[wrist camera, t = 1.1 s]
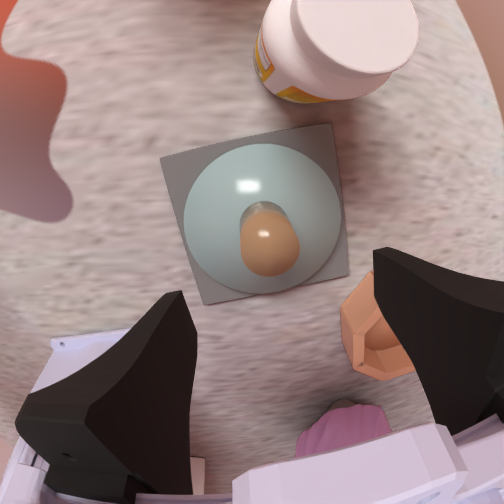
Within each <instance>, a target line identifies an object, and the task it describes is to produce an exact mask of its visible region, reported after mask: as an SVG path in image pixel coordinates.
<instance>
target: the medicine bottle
mask: <svg viewBox="0 0 504 504" xmlns="http://www.w3.org/2000/svg"><path fill="white" fill-rule="evenodd" d="M190 463H191V477H192V487H193V495H204V480H205V459H204V458H198V457H190Z"/></svg>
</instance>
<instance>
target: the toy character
mask: <svg viewBox="0 0 504 504" xmlns="http://www.w3.org/2000/svg"><path fill="white" fill-rule="evenodd" d="M389 433H392V431H391V429H390V428H389V423H388V421H387V419H386V416H385V413H384V411H383V410H382V406H381V405H378V406H375V405H360V404H354V403H353V402H351V401H349V400H347V399H339V400H337V401H336V402H334V403H333V404H332V405H331V407H330V408H329V409H328V411H327V413H325V414H324V415H323V416H322V417H321V418H320V419H319V420H318V421H317V422H316V423H314V425H313V426H312V427H311V428H309V429H307V430H305V431H303V432H302V433H301V434H300V436H299V437H298V439H297V444H296V455H295V457H294V458H297V457H302V456H307V455H312V454H316V453H321V452H325V451H330V450H334V449H338V448H342V447H346V446H349V445H353V444H357V443H360V442H364V441H367V440H370V439H374V438H377V437H380V436H383V435H386V434H389Z"/></svg>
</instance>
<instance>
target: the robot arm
mask: <svg viewBox="0 0 504 504" xmlns="http://www.w3.org/2000/svg"><path fill="white" fill-rule="evenodd" d="M373 272H374V298H375V300H376V302H377V304H378V307H379V309H380V311H381V313H382V315H383V317H384V318H385V320H386V322H387V323H388V325H389V326H390V328H391V329H392V331H393V333H394V334H395V336H396V337H397V339H398V340H399V342H400V343H401V345H402V347H403V348H404V350H405V351H406V353H407V355H408V356H409V358H410V360H411V362H412V363H413V365H414V367H415V370H416V372H417V374H418V376H419V379H420V381H421V383H422V386H423V388H424V391H425V393H426V396H427V398H428V401H429V404H430V407H431V410H432V413H433V416H434V419H435V422H436V423H429V422H428V423H424V424H420V425H415V426H411V427H407V428H404V429H401V430H398V431H395V432H392V433H389V434H386V435H383V436H380V437H377V438H374V439H370V440H367V441H364V442H360V443H357V444H353V445H349V446H346V447H342V448H338V449H334V450H330V451H325V452H321V453H316V454H312V455H307V456H302V457H297V458H291V459H286V460H280V461H276V462H272V463H268V464H264V465H260V466H256V467H252V468H251V469H249V470H248V471H246V472H245V473H243V474H241V475H240V476H238V477H237V478H235V479H234V480H233V481H232V493H226V494H207V495H193V487H192V477H191V463H190V440H189V413H190V402H191V395H192V388H193V381H194V375H195V368H196V361H197V331H196V328H195V326H194V323H193V320H192V318H191V315H190V312H189V310H188V307H187V304H186V302H185V299H184V296H183V293H182V291H181V290H180V291H174V292H169V293H166V294H164V295H163V296H162V297H161V298H160V299H159V300H158V301H157V302H156V303H155V304H154V305H153V306H152V307H151V309H150V310H149V311H148V312H147V313H146V314H145V315H144V316H143V317H142V318H141V319H140V320H139V321H138V322H137V323H136V324H135V325H134V326H133V327H132V328H129V329H122V330H115V331H108V332H100V333H93V334H85V335H77V336H68V337H60V338H52V339H51V341H50V345H51V347H52V349H53V350H54V351H53V353H52V355H51V356H50V358H49V360H48V362H47V363H46V365H45V367H44V369H43V370H42V372H41V374H40V376H39V378H38V379H37V381H36V383H35V385H34V387H33V389H32V390H31V392H30V394H28V396H27V398H26V400H25V402H24V404H23V406H22V408H21V410H20V412H19V414H18V416H17V418H16V420H15V426H16V429H17V431H18V433H19V434H20V437H19V439H18V441H17V443H16V446H15V448H14V450H13V452H12V455H11V457H10V460H9V462H8V464H7V467H6V469H5V472H4V475H3V477H2V480H1V483H0V504H504V282H503V281H496V280H489V279H483V278H478V277H474V276H470V275H466V274H462V273H458V272H455V271H452V270H449V269H446V268H443V267H440V266H437V265H435V264H432V263H429V262H427V261H424V260H422V259H419V258H417V257H414V256H412V255H409V254H407V253H404V252H402V251H399V250H396V249H393V248H390V247H385V248H381V249H376V250H373Z"/></svg>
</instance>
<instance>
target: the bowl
mask: <svg viewBox="0 0 504 504" xmlns="http://www.w3.org/2000/svg"><path fill="white" fill-rule="evenodd" d="M340 315H341V334H342V342H343V345H344V347H345V349H346V352H347V354H348V357H349V359H350V361H351V364H352V366H353V368H354V370H356V371H359V372H361V373H364V374H366V375H368V376H371V377H373V378H376V379H378V380H380V381H382V380H383V381H385V380H388V379H392V378H395V377H398V376H401V375H404V374H407V373H409V372H412V371H415V367H414V365H413V363H412V362H411V360H410V358H409V356H408V355H407V353H406V351H405V350H404V348H403V347H402V345H401V343H400V342H399V340H398V339H397V337H396V336H395V334H394V333H393V331H392V329H391V328H390V326H389V325H388V323H387V322H386V320H385V318H384V317H383V315H382V313H381V311H380V309H379V307H378V304H377V302H376V300H375V298H374V272H373V270H372V272H369V273H368V274H367V275H366V277H365V278H364V279H363V280H362V281H361V283H360V284H359V285H358V286H357V287H356V289H355V290H354V291H353V292H352V293H351V294H350V296H349V297H348V298H347V299H346V300H345V301H344V303H343V304H342V305H341V308H340Z"/></svg>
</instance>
